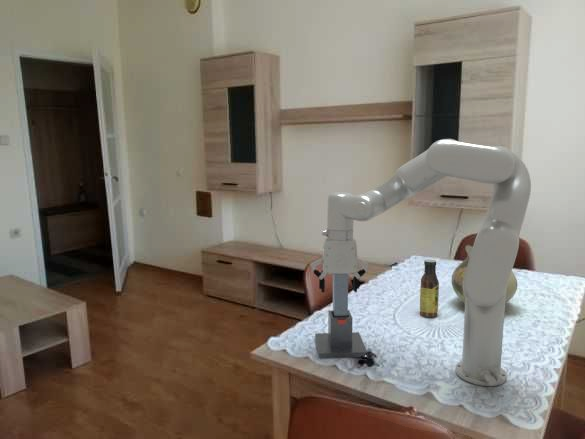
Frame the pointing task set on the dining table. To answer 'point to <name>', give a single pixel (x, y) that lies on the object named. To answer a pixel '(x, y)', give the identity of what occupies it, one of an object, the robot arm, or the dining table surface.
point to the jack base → (339, 339)
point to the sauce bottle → (429, 290)
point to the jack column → (340, 295)
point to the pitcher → (460, 273)
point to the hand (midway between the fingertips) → (338, 290)
